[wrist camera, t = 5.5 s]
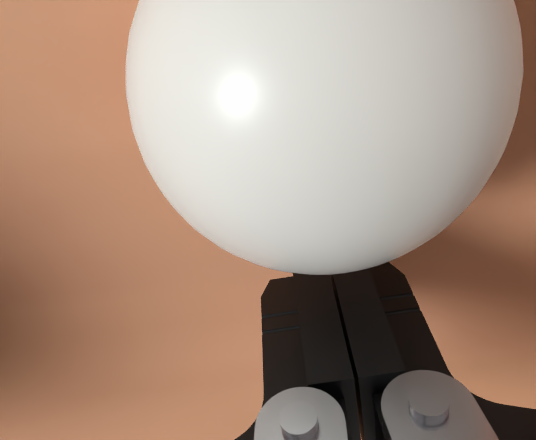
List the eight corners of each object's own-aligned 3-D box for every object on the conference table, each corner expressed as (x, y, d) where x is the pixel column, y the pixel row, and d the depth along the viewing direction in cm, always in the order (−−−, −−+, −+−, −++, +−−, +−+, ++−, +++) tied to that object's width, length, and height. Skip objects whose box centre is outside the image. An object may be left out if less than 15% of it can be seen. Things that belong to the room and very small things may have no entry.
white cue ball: (177, 357, 8) (185, 130, 11) (518, 314, 8) (420, 97, 11) (-22, 70, 3) (89, -161, 7) (771, -49, 3) (479, -225, 7)
